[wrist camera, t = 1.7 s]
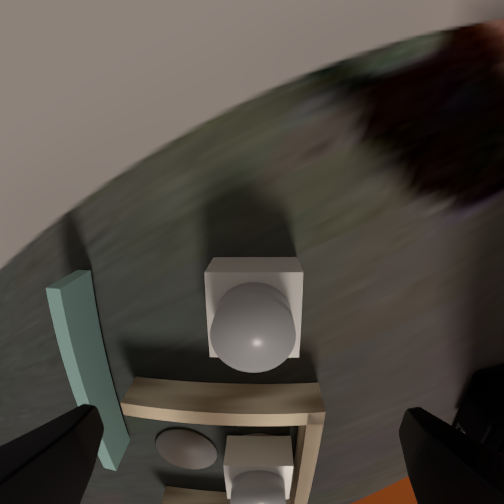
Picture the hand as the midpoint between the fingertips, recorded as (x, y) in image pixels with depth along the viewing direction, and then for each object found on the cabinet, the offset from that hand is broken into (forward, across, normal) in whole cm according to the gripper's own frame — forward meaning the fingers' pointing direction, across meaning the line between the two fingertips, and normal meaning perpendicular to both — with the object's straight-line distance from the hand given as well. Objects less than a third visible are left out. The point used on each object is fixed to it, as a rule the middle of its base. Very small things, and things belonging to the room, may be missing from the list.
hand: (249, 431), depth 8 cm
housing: (+10, +2, +13) cm, 17 cm away
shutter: (+10, +10, +5) cm, 16 cm away
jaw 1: (+11, 0, 0) cm, 11 cm away
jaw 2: (+10, 0, +13) cm, 16 cm away
